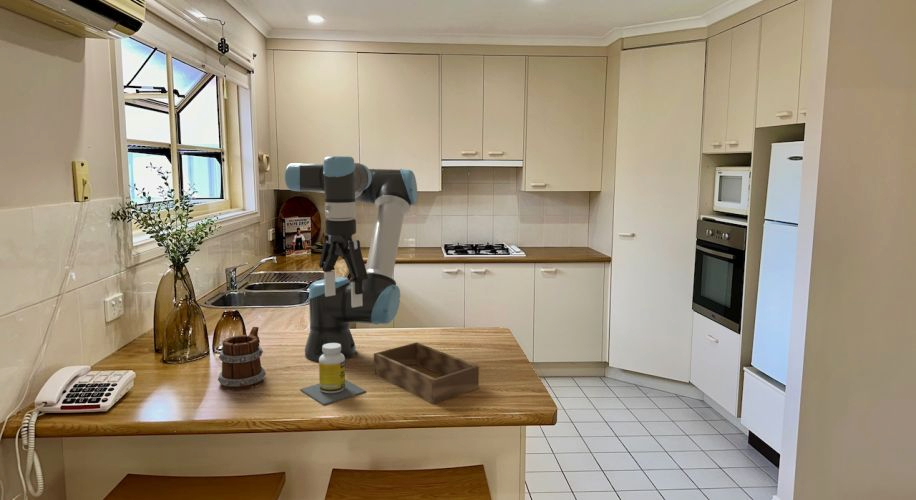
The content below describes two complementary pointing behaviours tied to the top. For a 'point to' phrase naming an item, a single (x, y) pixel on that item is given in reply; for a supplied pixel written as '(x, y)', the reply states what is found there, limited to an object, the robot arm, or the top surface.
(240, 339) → the mug
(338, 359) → the pill bottle
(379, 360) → the box frame
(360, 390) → the slate mat
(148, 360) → the top surface
